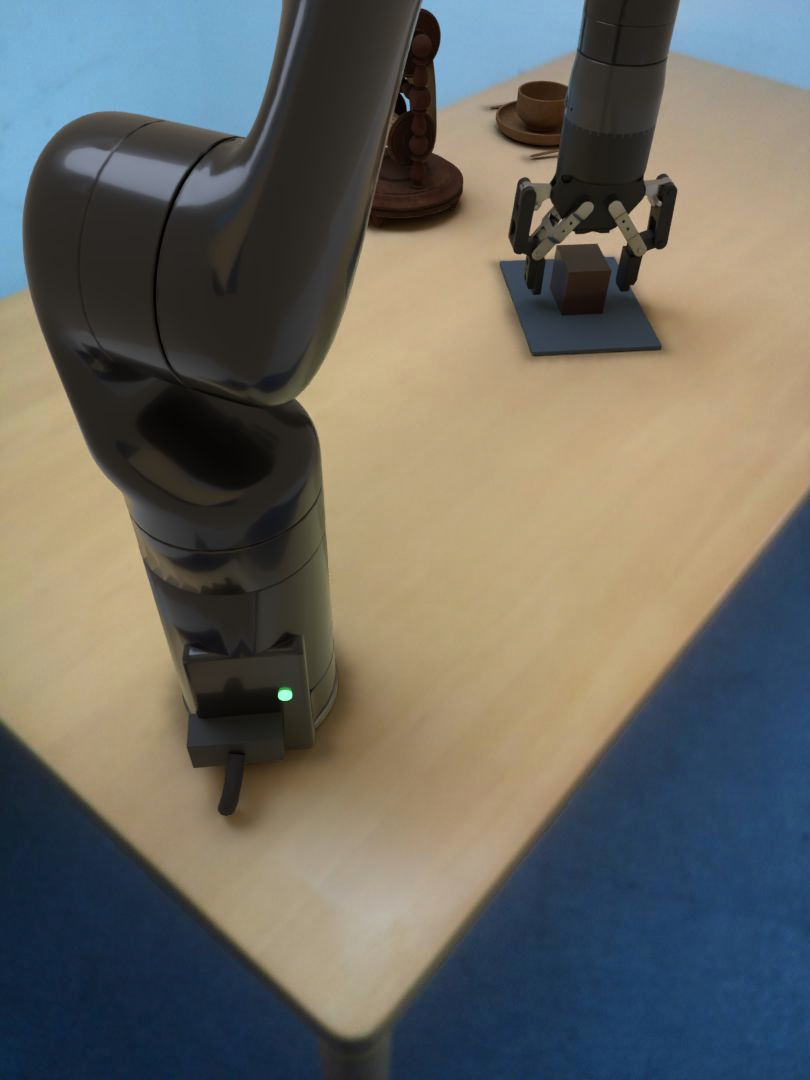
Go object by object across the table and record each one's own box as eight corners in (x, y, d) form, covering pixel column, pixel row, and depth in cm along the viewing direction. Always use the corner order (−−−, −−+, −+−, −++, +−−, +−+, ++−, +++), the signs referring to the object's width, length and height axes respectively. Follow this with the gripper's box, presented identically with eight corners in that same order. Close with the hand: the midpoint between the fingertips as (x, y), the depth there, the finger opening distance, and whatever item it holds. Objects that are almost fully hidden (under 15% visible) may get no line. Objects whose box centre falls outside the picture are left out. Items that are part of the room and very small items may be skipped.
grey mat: (661, 349, 79) (662, 345, 79) (531, 355, 78) (532, 352, 78) (613, 260, 90) (614, 256, 90) (499, 264, 89) (499, 260, 89)
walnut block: (602, 313, 82) (611, 270, 79) (561, 315, 82) (568, 272, 79) (589, 285, 86) (597, 243, 82) (549, 287, 85) (556, 244, 82)
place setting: (473, 108, 117) (476, 60, 113) (607, 94, 121) (615, 48, 117) (524, 163, 106) (530, 112, 101) (670, 145, 110) (681, 95, 106)
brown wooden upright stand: (486, 214, 96) (504, 10, 82) (365, 242, 92) (362, 31, 77) (423, 162, 105) (430, -30, 91) (310, 185, 100) (298, -14, 86)
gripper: (535, 132, 68) (512, 314, 80) (711, 127, 69) (663, 307, 81) (516, 95, 73) (497, 271, 85) (680, 92, 74) (639, 266, 86)
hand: (578, 289), depth 83 cm, fingers open, 8 cm apart
